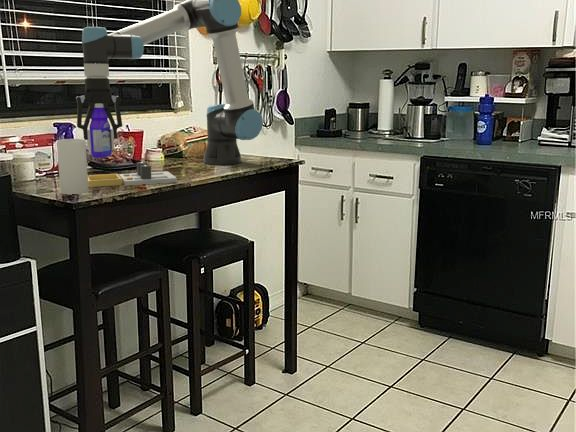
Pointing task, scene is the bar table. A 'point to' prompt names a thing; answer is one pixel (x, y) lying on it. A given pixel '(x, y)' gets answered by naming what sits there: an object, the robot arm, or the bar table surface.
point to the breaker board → (155, 178)
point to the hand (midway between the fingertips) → (101, 149)
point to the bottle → (100, 132)
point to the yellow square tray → (104, 180)
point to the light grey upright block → (72, 166)
